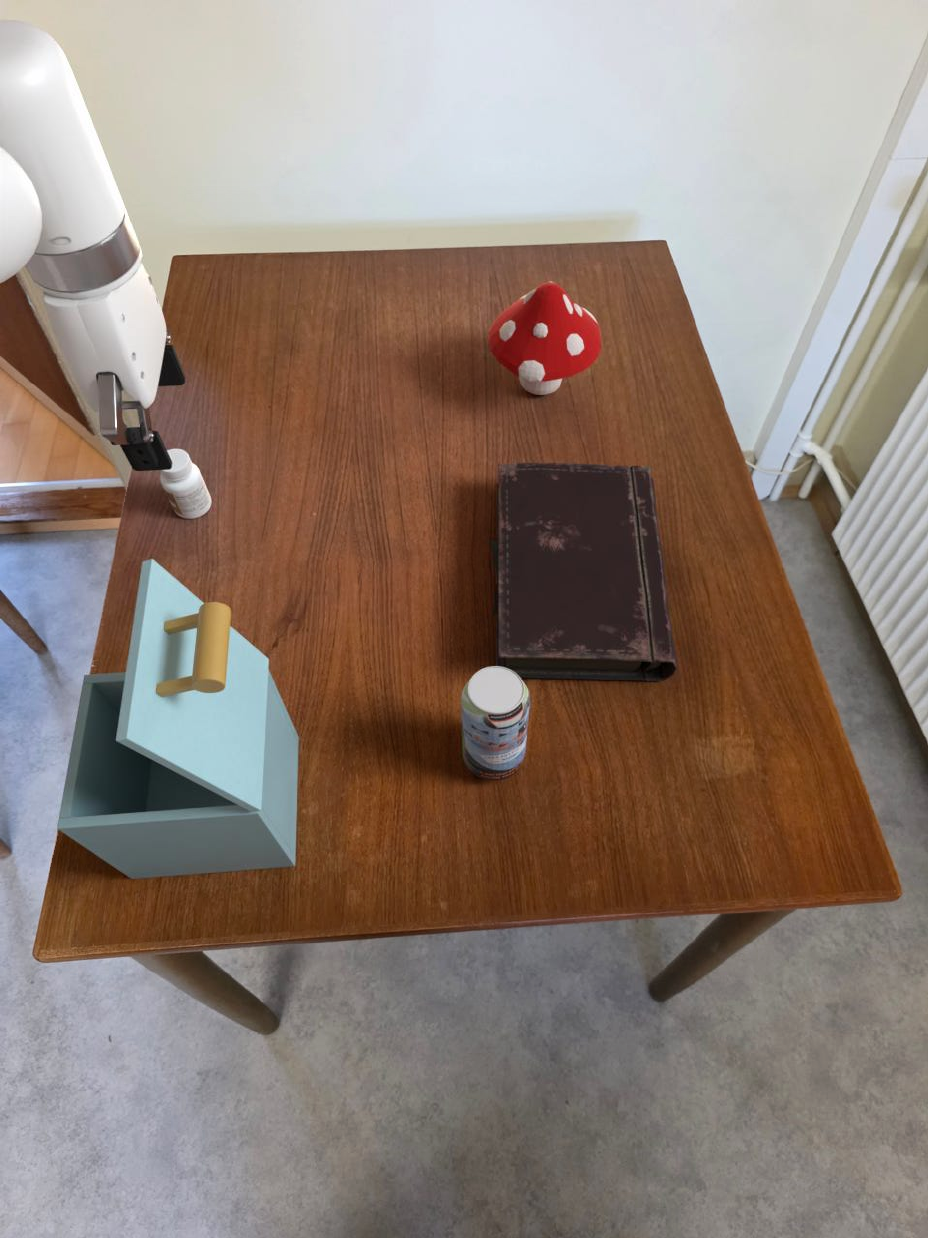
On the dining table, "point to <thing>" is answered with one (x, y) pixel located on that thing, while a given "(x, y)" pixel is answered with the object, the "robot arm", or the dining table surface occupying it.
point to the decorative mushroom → (545, 338)
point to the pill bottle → (185, 486)
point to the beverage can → (494, 723)
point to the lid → (194, 691)
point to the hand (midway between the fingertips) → (161, 423)
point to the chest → (173, 799)
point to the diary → (580, 573)
